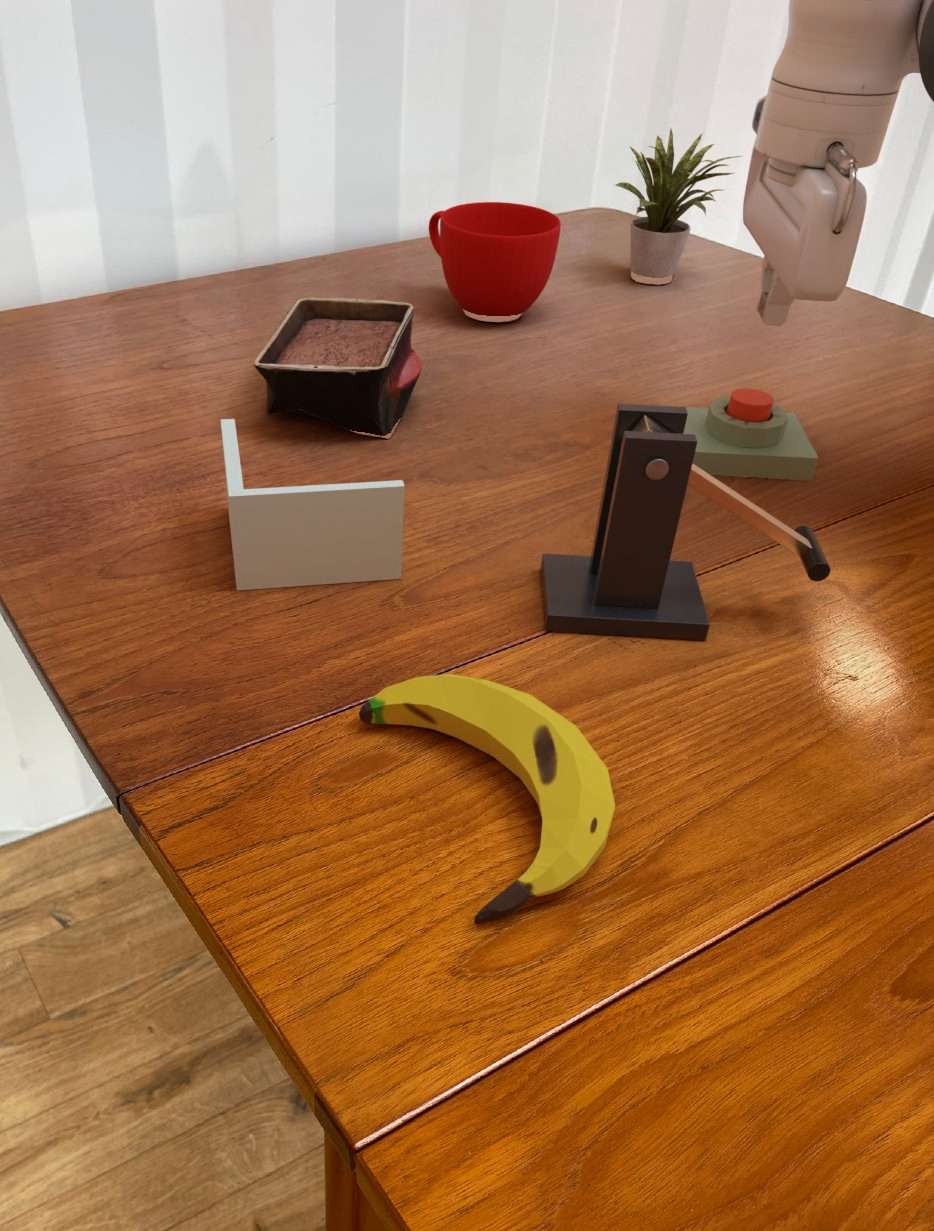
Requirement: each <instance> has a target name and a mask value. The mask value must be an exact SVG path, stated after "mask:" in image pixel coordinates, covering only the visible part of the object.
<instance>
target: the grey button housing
mask: <svg viewBox="0 0 934 1231" xmlns="http://www.w3.org/2000/svg"><path fill="white" fill-rule="evenodd" d="M729 400H730V396H725V397H721V398H717V399H715V400H714V401H713V402H712V403H711V404H710V405H709V406H708V408H705V407H688V406H687V407H686V406H685V407H686V410H687V413H688V415H687V420H686V424H685V429H684V433H683V434H695V436H696V439H697V446H696V450H695V455H694V459H693V464H694V465H696V466H697V467H699V468H700V469H702V470H703V471H705V472H706V473H708V474H709V475H717V476H716V477H728V476H745V477H744V478H747V477H753V478H752V479H755V478H754V477H757V478H756V479H765V478H768V479H767V480H769V479H770V480H785V479H788V480H787V481H803V482H805V481H806V482H812V481H813V477H814V475H815V471H816V469H817V465H818V462H819V459H820V457H819V456H818V453H817V452H816V450H815V449H814V447H813V445H812V443H811V441H810V439H809V437H808V435H807V434H806V432H805V429H804V428H803V426H802V424H801V422H800V420H799V418H798V416H797V415H796V413H795V412H786V411H785V409H784V408H782V407H780V406H778V405H777V404H775V403H773V406H772V410H771V413H770V417H769V420H768V421H765V422H761V423H758V422H745V421H742V420H738V419H734V418H732V417H731V416H729V415H728V414H727V408H728V404H729ZM718 475H720V476H718ZM746 476H747V477H746ZM785 481H786V480H785Z"/></svg>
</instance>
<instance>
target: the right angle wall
mask: <svg viewBox="0 0 934 1231" xmlns="http://www.w3.org/2000/svg"><path fill="white" fill-rule="evenodd" d="M220 429H221V441H222V451H223V452H222V453H223V463H224V464H223V465H224V476H225V486H226V487H225V488H226V498H227V500H226V501H227V511H228V519H229V527H230V528H229V530H230V538H231V539H230V540H231V548H232V549H231V550H232V559H233V565H234V566H233V568H234V577H235V588H236V591H248V590H249V591H252V590H263V589H278V588H280V589H281V588H292V587H306V586H321V585H332V584H333V585H335V584H347V583H348V584H349V583H361V582H362V583H363V582H375V581H377V582H378V581H390V580H402V573H403V572H402V569H403V568H402V567H403V566H402V564H403V541H404V516H405V494H406V493H405V492H406V490H405V488H406V486H405V483H404V480H403V479H397V480H396V479H395V480H382V481H380V480H379V481H363V482H348V483H346V482H345V483H331V484H330V483H329V484H311V485H310V484H309V485H294V486H278V487H277V486H276V487H275V486H274V487H260V488H259V487H258V488H244V481H243V480H244V479H243V473H242V466H241V458H240V450H239V443H238V435H237V427H236V419H235V418H221V419H220Z"/></svg>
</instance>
